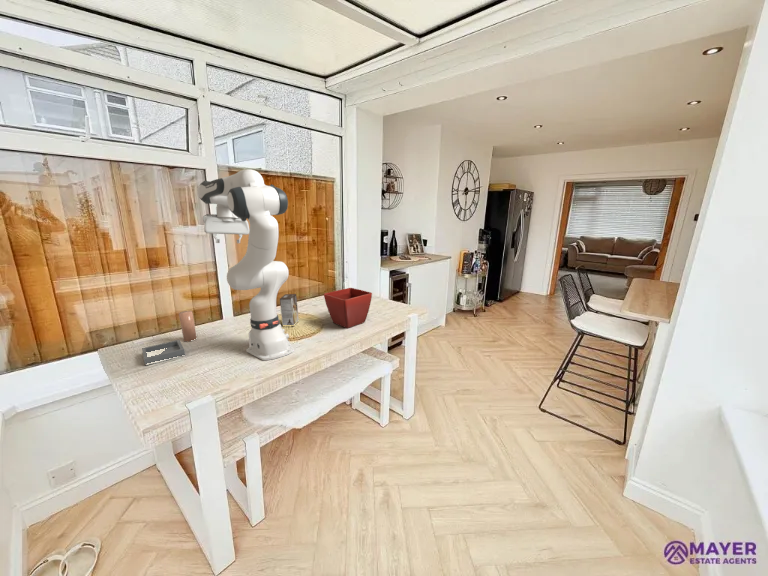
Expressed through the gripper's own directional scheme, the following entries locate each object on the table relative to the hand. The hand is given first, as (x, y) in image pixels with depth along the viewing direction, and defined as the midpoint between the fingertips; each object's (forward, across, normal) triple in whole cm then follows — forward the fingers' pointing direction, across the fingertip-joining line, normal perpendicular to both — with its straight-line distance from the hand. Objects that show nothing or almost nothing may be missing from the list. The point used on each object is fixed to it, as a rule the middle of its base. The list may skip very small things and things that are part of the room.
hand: (228, 243), depth 158 cm
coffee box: (+44, +28, -3) cm, 53 cm away
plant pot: (+45, +55, -21) cm, 74 cm away
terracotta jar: (+47, -19, +7) cm, 51 cm away
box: (+50, -29, -5) cm, 58 cm away
